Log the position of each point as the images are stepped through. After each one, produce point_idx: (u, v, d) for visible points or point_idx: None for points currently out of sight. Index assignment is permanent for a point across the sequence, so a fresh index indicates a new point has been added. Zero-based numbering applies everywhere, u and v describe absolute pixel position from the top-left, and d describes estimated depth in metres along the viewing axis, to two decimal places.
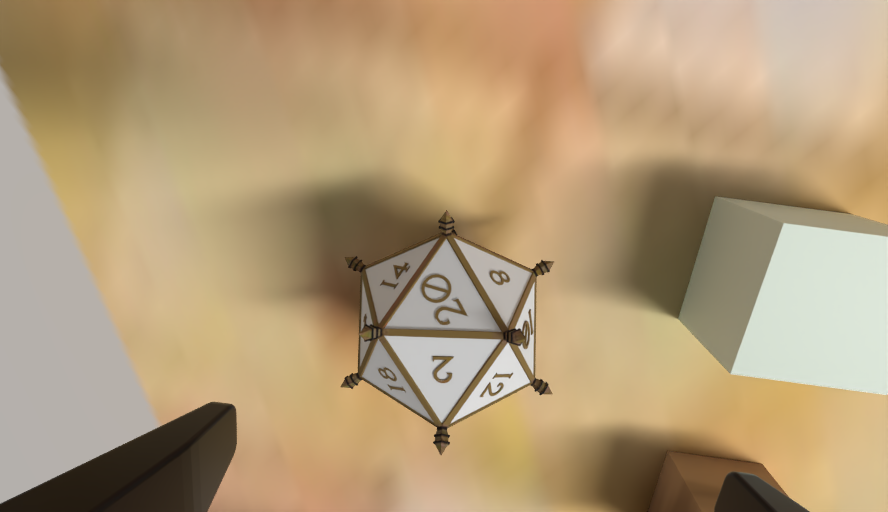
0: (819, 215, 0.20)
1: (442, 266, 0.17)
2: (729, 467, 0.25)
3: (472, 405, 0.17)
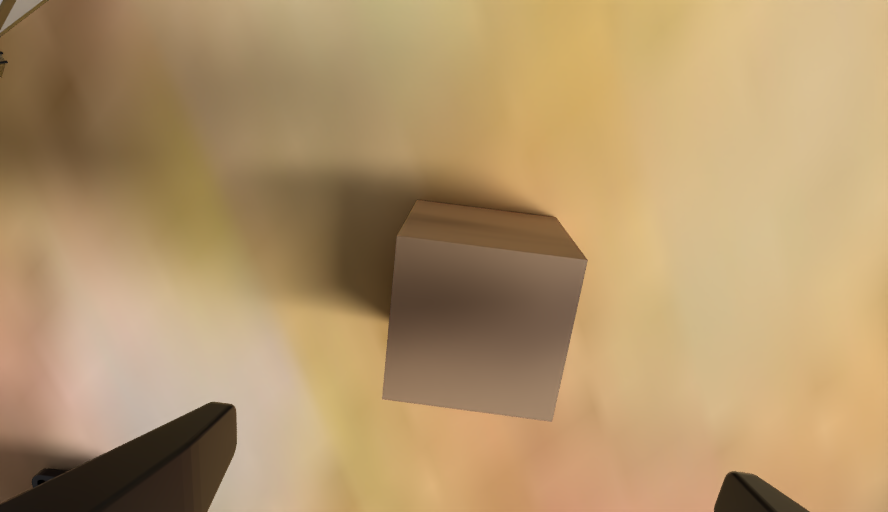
0: None
1: None
2: (500, 213, 0.17)
3: None
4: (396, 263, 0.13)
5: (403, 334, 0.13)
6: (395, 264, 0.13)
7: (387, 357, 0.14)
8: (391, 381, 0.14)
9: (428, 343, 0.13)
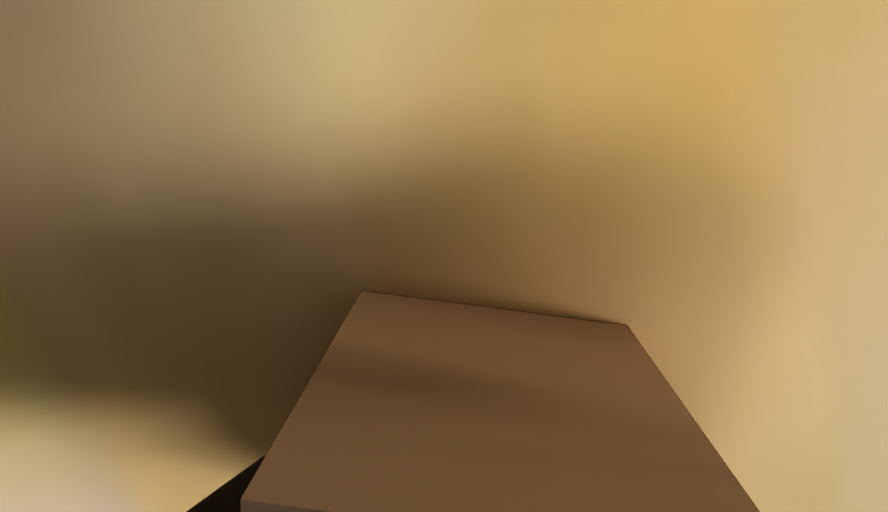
0: None
1: None
2: (524, 327, 0.08)
3: None
4: None
5: None
6: None
7: None
8: None
9: None
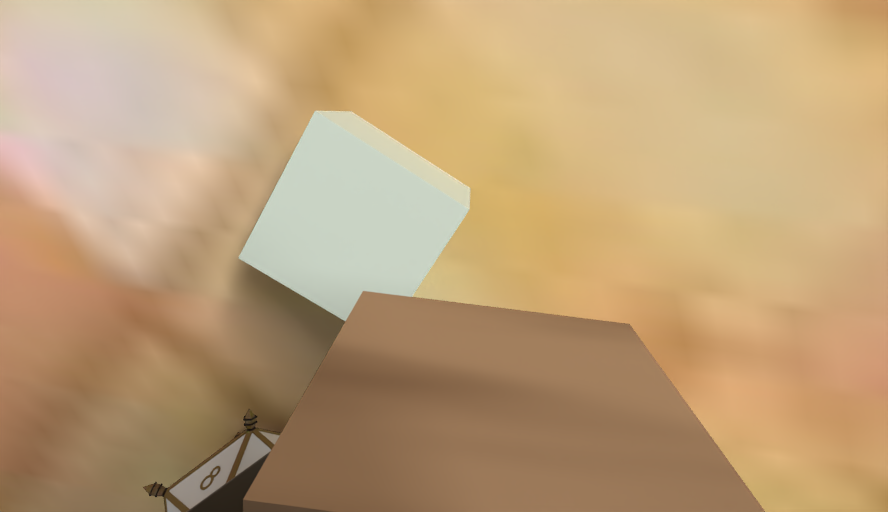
0: None
1: None
2: (525, 327, 0.08)
3: None
4: None
5: None
6: None
7: None
8: None
9: None
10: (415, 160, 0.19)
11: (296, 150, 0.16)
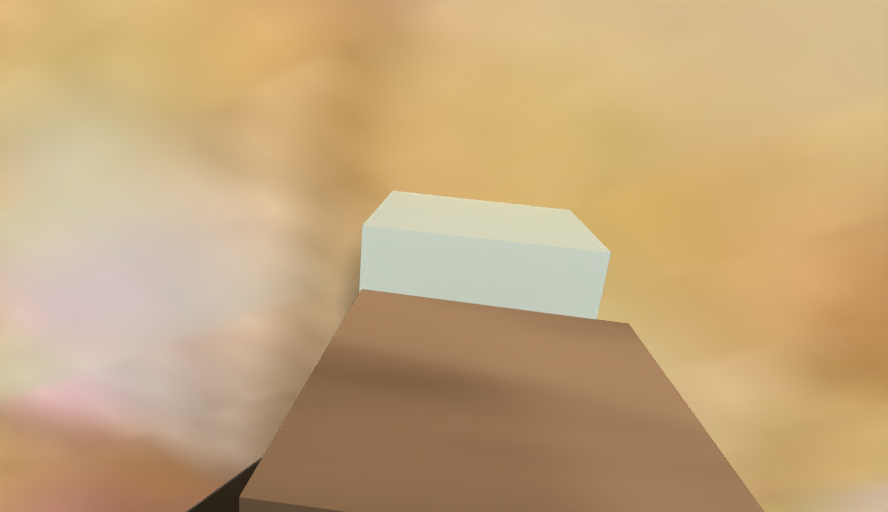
0: None
1: None
2: (524, 325, 0.08)
3: None
4: None
5: None
6: None
7: None
8: None
9: None
10: (498, 214, 0.14)
11: (361, 282, 0.12)
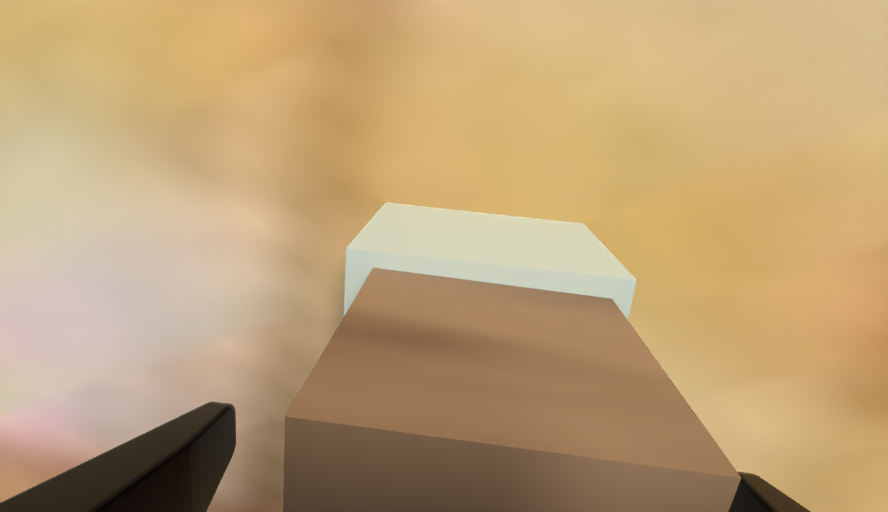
0: None
1: None
2: (518, 299, 0.09)
3: None
4: (288, 473, 0.06)
5: None
6: (286, 475, 0.06)
7: None
8: None
9: None
10: (503, 231, 0.13)
11: None
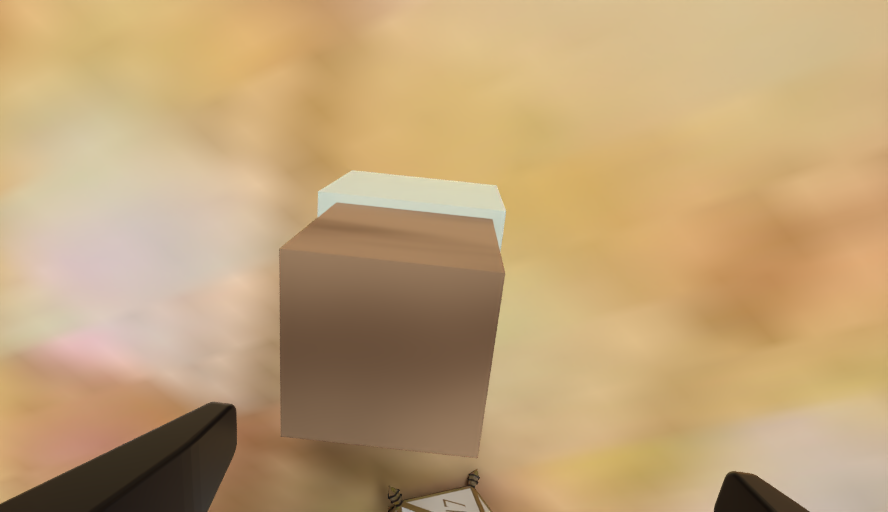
0: None
1: None
2: (427, 217, 0.15)
3: None
4: (282, 281, 0.11)
5: (298, 363, 0.12)
6: (280, 282, 0.11)
7: (282, 389, 0.12)
8: (289, 416, 0.12)
9: (328, 372, 0.12)
10: (432, 187, 0.18)
11: None
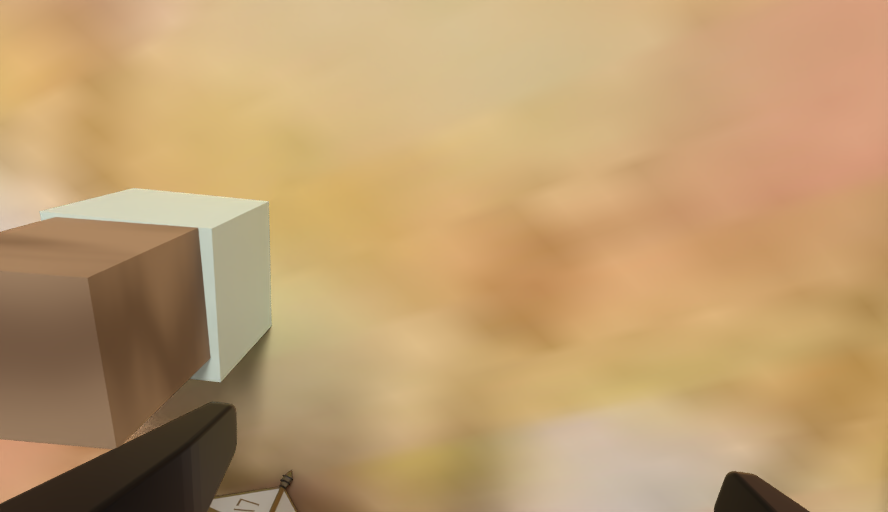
0: None
1: None
2: (127, 228, 0.16)
3: None
4: None
5: None
6: None
7: None
8: None
9: None
10: (185, 204, 0.19)
11: None
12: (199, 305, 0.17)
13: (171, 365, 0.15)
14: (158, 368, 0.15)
